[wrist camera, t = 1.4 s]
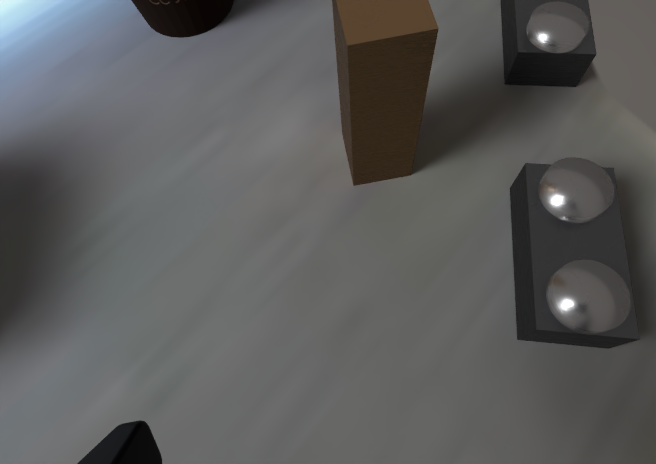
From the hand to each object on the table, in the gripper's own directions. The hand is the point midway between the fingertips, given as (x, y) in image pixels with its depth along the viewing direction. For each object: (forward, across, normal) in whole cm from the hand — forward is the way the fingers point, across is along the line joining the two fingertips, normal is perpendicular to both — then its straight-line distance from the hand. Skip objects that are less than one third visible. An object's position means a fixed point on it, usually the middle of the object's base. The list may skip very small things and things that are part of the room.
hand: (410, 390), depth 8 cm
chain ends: (+18, -12, +1) cm, 22 cm away
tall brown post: (+19, -2, 0) cm, 19 cm away
